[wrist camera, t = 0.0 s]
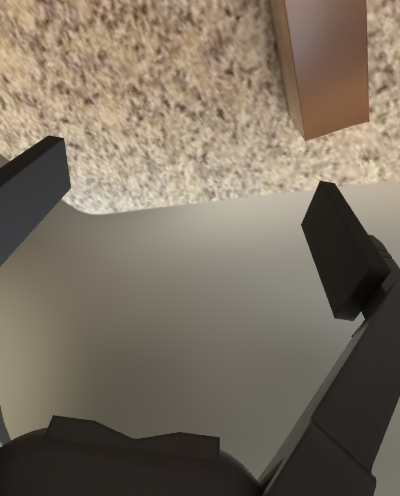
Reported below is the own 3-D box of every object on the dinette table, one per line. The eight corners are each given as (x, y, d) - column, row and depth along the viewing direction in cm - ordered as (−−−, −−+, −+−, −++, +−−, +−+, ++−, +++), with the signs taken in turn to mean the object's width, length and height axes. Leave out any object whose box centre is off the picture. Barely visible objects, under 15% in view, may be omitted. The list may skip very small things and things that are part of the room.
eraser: (260, -43, 22) (273, -65, 16) (323, -75, 21) (364, -112, 15) (288, 115, 29) (305, 142, 23) (337, 98, 28) (369, 121, 22)
